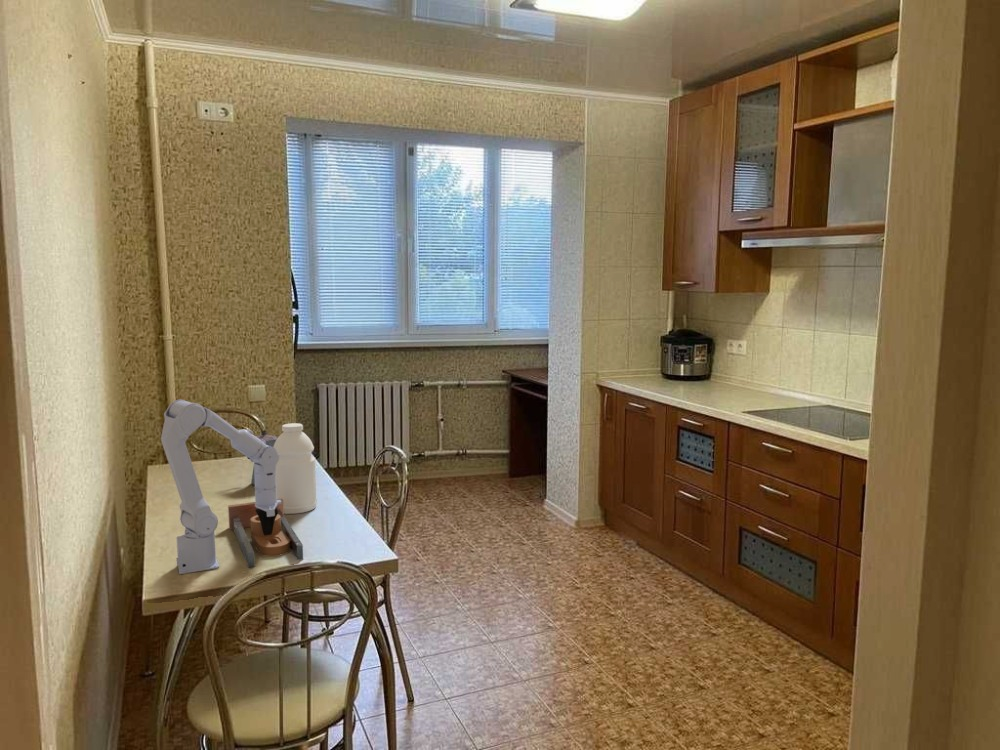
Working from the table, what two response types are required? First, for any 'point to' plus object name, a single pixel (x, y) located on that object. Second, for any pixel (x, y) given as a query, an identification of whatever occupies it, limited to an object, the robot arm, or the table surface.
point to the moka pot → (269, 441)
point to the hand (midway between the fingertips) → (267, 534)
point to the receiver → (242, 518)
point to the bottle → (295, 470)
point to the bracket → (269, 538)
